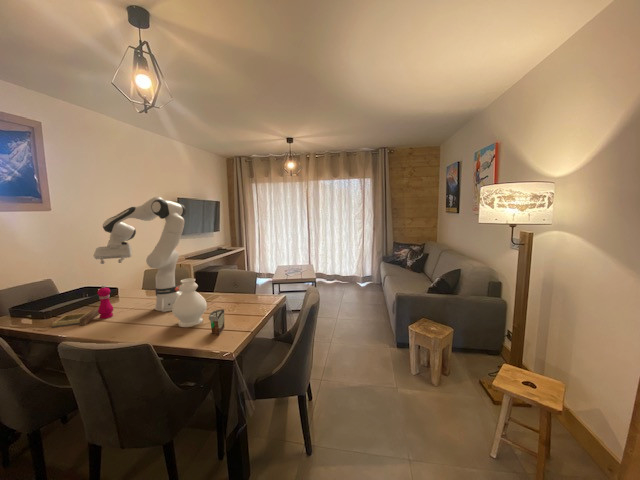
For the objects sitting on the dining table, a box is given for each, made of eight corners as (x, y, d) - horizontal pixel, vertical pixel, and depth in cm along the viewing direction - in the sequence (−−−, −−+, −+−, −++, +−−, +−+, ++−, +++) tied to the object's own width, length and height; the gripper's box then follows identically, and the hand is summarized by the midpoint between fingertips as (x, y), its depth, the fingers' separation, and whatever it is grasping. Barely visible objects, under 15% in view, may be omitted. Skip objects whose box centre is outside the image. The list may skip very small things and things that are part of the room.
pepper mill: (105, 319, 155) (102, 287, 153) (95, 319, 157) (92, 286, 155) (117, 315, 162) (114, 283, 160) (107, 314, 164) (104, 283, 162)
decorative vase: (202, 327, 142) (200, 283, 140) (167, 330, 139) (164, 285, 137) (211, 315, 160) (208, 275, 157) (180, 317, 157) (177, 277, 154)
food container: (213, 326, 143) (212, 309, 142) (225, 326, 144) (224, 308, 143) (206, 337, 131) (204, 318, 130) (218, 336, 131) (217, 317, 130)
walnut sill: (101, 312, 167) (100, 306, 166) (85, 325, 148) (84, 318, 147) (96, 313, 166) (96, 307, 165) (80, 325, 147) (79, 319, 147)
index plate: (91, 315, 162) (91, 311, 162) (80, 323, 150) (80, 319, 150) (65, 318, 158) (64, 315, 157) (51, 327, 145) (51, 323, 145)
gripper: (94, 244, 172) (89, 261, 164) (131, 242, 179) (127, 258, 171) (98, 249, 176) (93, 266, 168) (134, 248, 183) (130, 264, 175)
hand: (111, 262), depth 169 cm, fingers open, 8 cm apart
